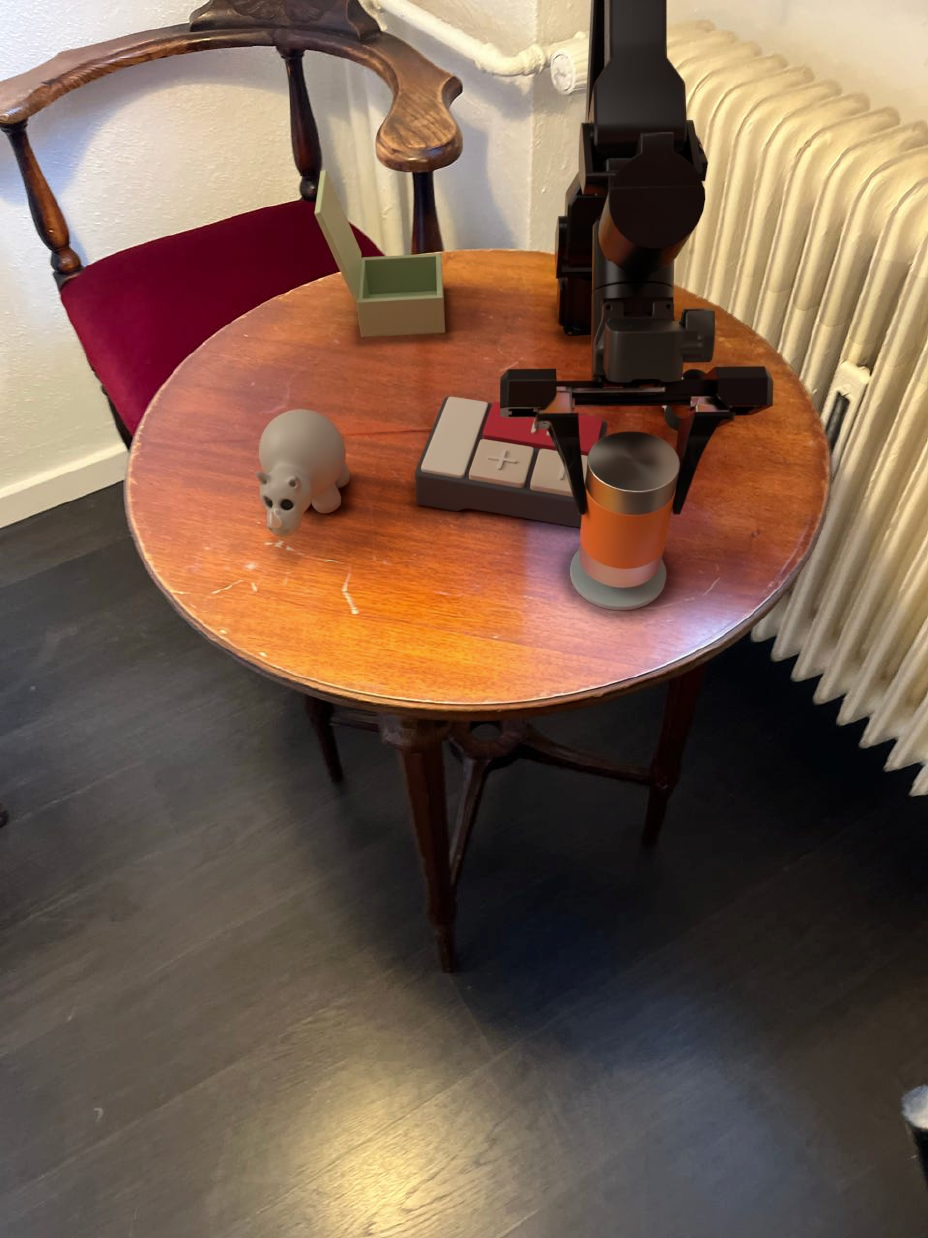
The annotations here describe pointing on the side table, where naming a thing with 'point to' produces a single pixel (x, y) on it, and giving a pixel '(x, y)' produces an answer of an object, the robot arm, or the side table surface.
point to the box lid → (338, 233)
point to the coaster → (616, 589)
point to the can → (627, 507)
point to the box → (401, 295)
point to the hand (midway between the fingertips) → (628, 514)
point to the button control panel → (498, 464)
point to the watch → (669, 415)
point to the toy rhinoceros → (300, 468)
